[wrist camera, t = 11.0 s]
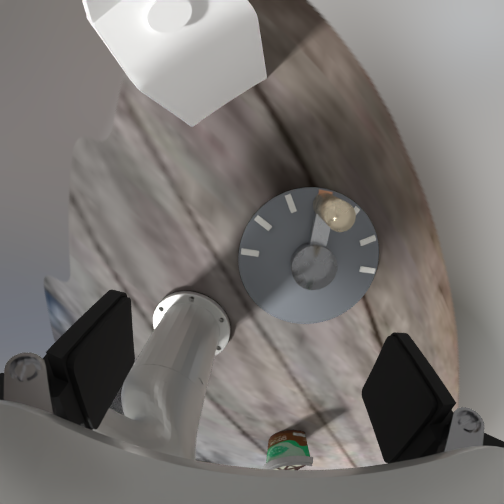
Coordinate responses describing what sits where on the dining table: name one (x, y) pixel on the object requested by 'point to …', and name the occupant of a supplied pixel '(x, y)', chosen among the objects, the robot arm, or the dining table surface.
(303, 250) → the lever
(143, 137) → the dining table surface
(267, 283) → the dial board
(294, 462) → the food container
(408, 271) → the dining table surface
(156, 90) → the milk
